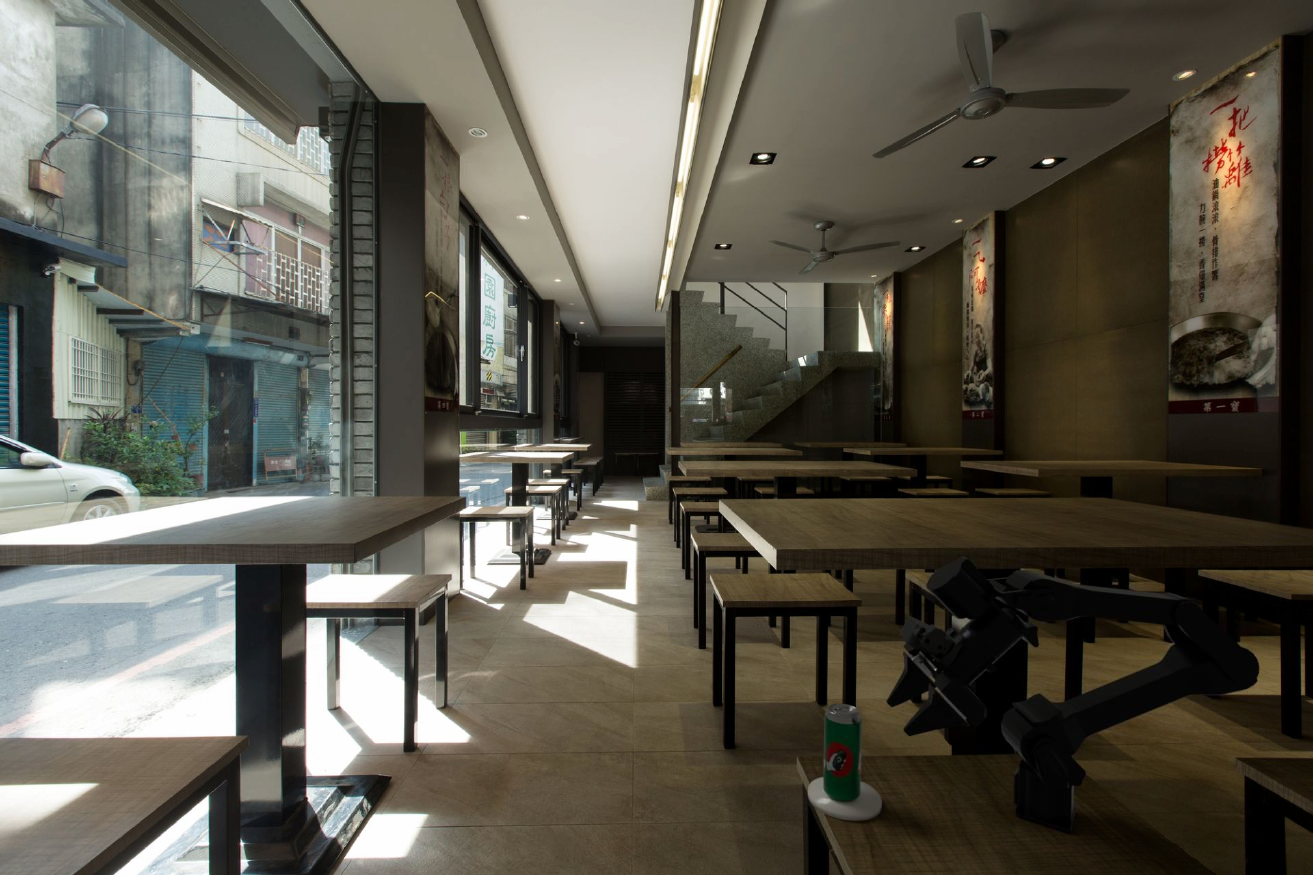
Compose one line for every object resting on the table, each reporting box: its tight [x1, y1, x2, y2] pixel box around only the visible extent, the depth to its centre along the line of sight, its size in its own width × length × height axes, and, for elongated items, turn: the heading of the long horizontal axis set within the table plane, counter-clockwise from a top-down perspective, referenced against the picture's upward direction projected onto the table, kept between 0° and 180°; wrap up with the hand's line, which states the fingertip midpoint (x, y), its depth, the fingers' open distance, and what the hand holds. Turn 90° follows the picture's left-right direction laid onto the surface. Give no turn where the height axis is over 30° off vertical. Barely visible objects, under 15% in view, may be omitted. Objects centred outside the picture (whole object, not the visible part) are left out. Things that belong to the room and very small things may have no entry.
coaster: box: [807, 776, 883, 822], centre depth 93 cm, size 10×10×1 cm
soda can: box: [822, 703, 863, 802], centre depth 93 cm, size 5×5×12 cm
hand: (896, 718), depth 93 cm, fingers open, 9 cm apart
